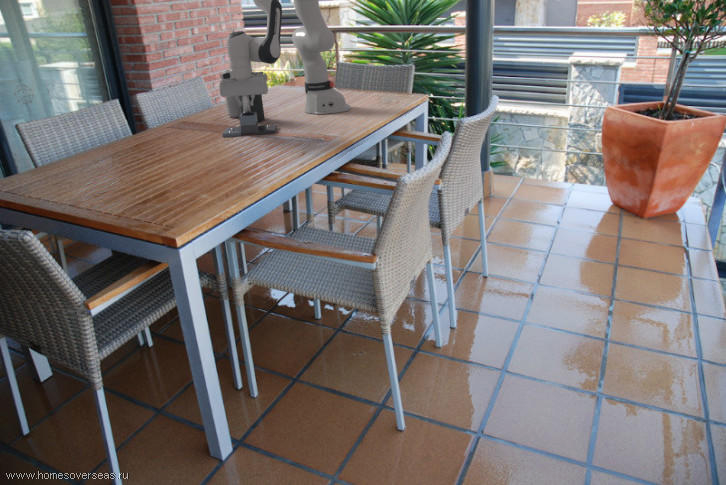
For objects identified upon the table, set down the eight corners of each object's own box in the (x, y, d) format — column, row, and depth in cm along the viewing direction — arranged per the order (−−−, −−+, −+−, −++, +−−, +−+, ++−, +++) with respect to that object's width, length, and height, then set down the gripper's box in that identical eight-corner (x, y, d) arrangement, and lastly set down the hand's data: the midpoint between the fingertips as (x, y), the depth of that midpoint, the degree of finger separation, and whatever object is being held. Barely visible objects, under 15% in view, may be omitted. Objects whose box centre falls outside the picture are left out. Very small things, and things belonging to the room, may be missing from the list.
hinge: (277, 127, 255) (274, 109, 252) (275, 133, 246) (272, 115, 243) (226, 131, 255) (223, 113, 251) (222, 137, 246) (219, 118, 242)
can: (245, 114, 284) (242, 89, 279) (241, 118, 277) (237, 93, 272) (231, 114, 285) (227, 90, 280) (226, 118, 278) (222, 93, 273)
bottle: (259, 123, 265) (250, 56, 252) (240, 123, 267) (229, 56, 254) (267, 118, 274) (258, 52, 261) (248, 118, 276) (238, 53, 263)
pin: (252, 117, 249) (248, 89, 244) (251, 119, 247) (247, 91, 241) (245, 118, 249) (241, 90, 244) (244, 119, 246) (240, 91, 241)
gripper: (267, 70, 243) (271, 102, 249) (218, 73, 242) (224, 105, 248) (265, 72, 237) (269, 105, 243) (216, 75, 236) (221, 108, 242)
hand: (246, 105), depth 245 cm, fingers closed on pin, 3 cm apart
